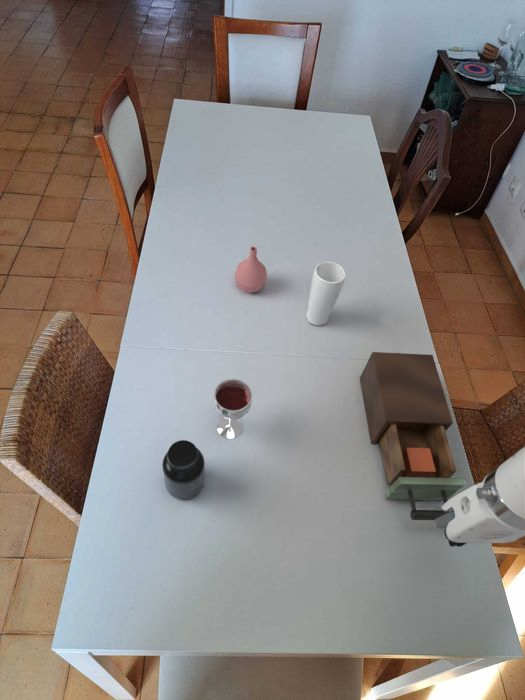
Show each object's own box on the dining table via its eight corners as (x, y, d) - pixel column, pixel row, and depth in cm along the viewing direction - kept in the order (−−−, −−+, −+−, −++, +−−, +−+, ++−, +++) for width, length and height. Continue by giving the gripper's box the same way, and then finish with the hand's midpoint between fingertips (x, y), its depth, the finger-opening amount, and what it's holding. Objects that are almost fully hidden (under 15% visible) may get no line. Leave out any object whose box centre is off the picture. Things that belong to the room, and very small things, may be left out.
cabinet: (432, 446, 91) (453, 423, 83) (371, 444, 89) (386, 421, 82) (415, 380, 100) (432, 354, 92) (359, 378, 99) (372, 351, 91)
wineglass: (205, 429, 88) (205, 397, 78) (226, 405, 91) (229, 372, 82) (233, 449, 86) (237, 419, 76) (254, 423, 90) (260, 391, 80)
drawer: (453, 528, 80) (474, 515, 74) (390, 528, 79) (406, 514, 73) (427, 428, 92) (443, 409, 86) (372, 427, 91) (384, 407, 85)
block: (426, 481, 84) (436, 471, 80) (402, 480, 83) (411, 471, 80) (420, 458, 86) (430, 448, 83) (397, 457, 86) (406, 447, 82)
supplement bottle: (202, 461, 84) (202, 431, 74) (206, 498, 80) (206, 471, 70) (165, 466, 83) (159, 436, 73) (166, 503, 79) (161, 477, 69)
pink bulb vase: (241, 301, 109) (244, 263, 99) (229, 279, 113) (231, 241, 103) (270, 293, 111) (276, 256, 102) (257, 272, 115) (262, 234, 106)
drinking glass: (301, 326, 106) (313, 279, 94) (304, 305, 110) (316, 258, 98) (329, 331, 106) (345, 285, 94) (331, 310, 110) (347, 264, 98)
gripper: (467, 527, 52) (410, 562, 67) (588, 528, 53) (506, 562, 68) (450, 464, 57) (400, 510, 71) (562, 467, 58) (490, 511, 73)
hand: (452, 535), depth 70 cm, fingers closed
